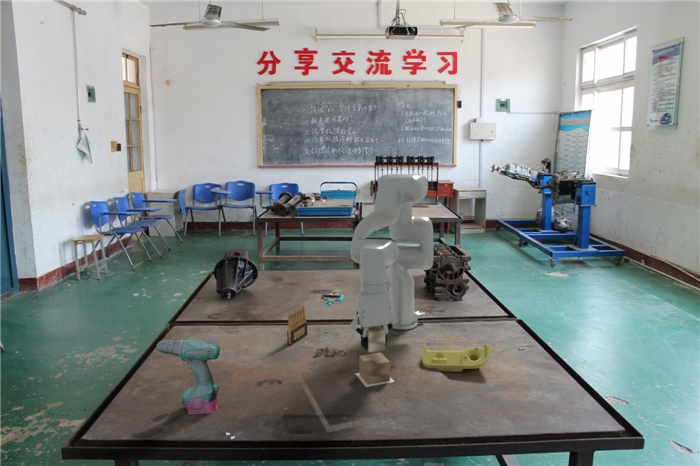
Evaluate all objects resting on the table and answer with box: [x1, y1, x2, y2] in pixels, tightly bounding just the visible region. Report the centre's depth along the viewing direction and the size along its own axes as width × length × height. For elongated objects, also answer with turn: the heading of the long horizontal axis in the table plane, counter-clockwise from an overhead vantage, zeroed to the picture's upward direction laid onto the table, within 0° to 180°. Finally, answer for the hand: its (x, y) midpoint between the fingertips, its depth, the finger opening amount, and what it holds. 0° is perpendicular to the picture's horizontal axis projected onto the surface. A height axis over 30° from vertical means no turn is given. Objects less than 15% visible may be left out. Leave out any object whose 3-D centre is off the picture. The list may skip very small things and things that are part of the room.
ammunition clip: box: [286, 303, 308, 346], centre depth 188 cm, size 11×2×12 cm, turn 153°
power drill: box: [156, 339, 221, 415], centre depth 141 cm, size 7×16×20 cm, turn 95°
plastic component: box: [421, 343, 490, 373], centre depth 165 cm, size 20×8×10 cm
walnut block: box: [358, 351, 391, 385], centre depth 156 cm, size 7×7×6 cm
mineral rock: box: [315, 345, 347, 358], centre depth 174 cm, size 11×4×8 cm
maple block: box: [367, 326, 386, 353], centre depth 154 cm, size 5×5×6 cm
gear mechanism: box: [321, 289, 345, 306], centre depth 235 cm, size 20×5×9 cm
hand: (374, 346), depth 154 cm, fingers closed on maple block, 5 cm apart
